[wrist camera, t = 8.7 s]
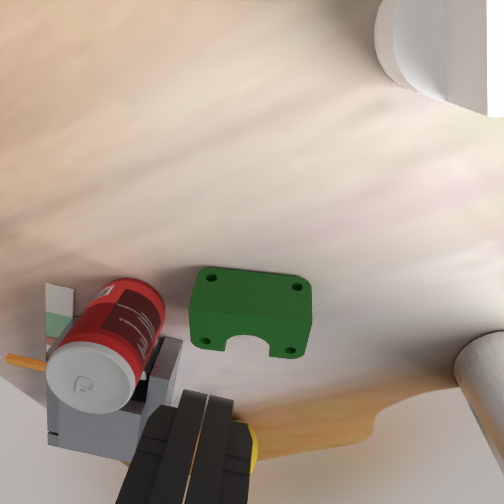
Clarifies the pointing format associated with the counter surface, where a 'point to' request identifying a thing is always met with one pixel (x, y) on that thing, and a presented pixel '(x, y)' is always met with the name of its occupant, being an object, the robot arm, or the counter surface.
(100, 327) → the canned food
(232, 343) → the counter surface
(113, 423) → the box
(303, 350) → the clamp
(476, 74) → the white container
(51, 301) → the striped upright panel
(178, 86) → the counter surface
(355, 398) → the counter surface
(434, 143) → the counter surface
